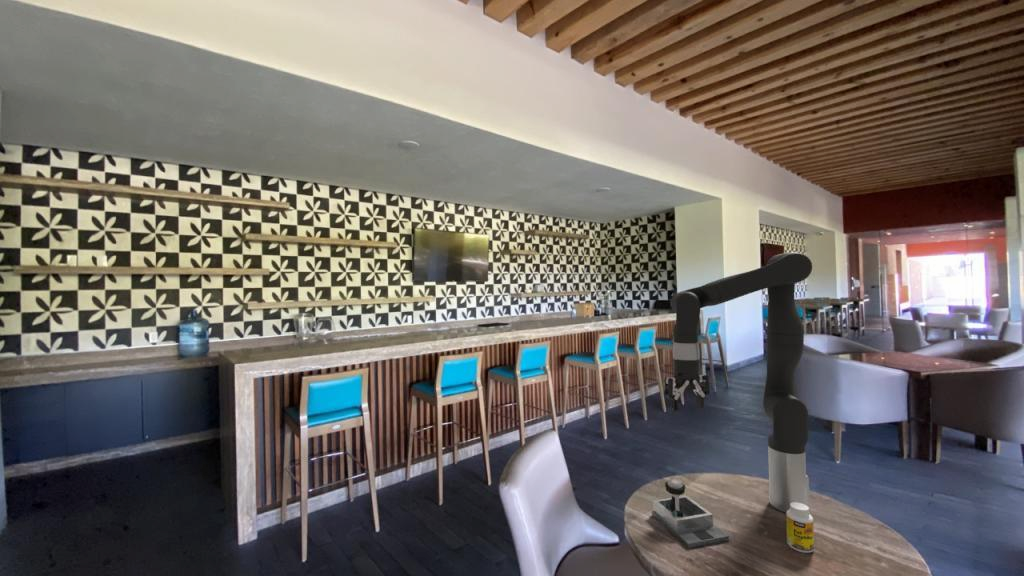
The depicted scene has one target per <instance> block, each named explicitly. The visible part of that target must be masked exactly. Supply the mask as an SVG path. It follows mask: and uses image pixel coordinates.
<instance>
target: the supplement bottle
mask: <svg viewBox="0 0 1024 576" xmlns="http://www.w3.org/2000/svg"><path fill="white" fill-rule="evenodd" d="M785 513H786V519H785V520H786V543H787V544H788V546H789V547H790V548H791V549H793V550H795V551H798V552H800V553H804V554H805V553H806V554H808V553H812V552H814V550H815V540H814V539H815V537H814V535H815V534H814V529H815V528H814V517H813V516H812V515H811V512H810V509H809V507H808V506H806V505H804V504H801V503H797V502H792V503H790V509H789V510H788V511H787V512H785Z"/></svg>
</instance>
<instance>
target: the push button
mask: <svg viewBox="0 0 1024 576" xmlns="http://www.w3.org/2000/svg"><path fill="white" fill-rule="evenodd" d="M664 487H665V491H666V492H667V493H669V495H671V498H672V499H671V503H670V512H671V513H672V514H674V515H675V516H676V517H677V518H683V512H682V511H681V509H682V508H681V504H680V502H679V496H683V495H684V494H685V490H686V485H685V484H683V482H682V481H681V480H679V479H677V478H670V479H668V480H667V481H666V482H665V483H664Z"/></svg>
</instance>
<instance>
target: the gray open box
mask: <svg viewBox="0 0 1024 576" xmlns="http://www.w3.org/2000/svg"><path fill="white" fill-rule="evenodd" d="M671 499H672V497H667V498H659V499H655V500H652V505H653V508H652V510H651V516H652V517H653V518H654V519H655V520H657V521H658V522H659V524H660V525H662V526H663V527H664V528H665V529H666V530H668V531H669V533H670V534H672V535H673V537H675V538H676V539H677V540H679V542H681V543H682V544H683V545H684V546H685V548H687V549H690V550H691V549H694V548H699V547H704V546H708V545H714V544H719V543H723V542H729V540H730V536H729V535H728V534H727V533H725V532H724V531H723V530H722V529H720V528H719V527H717V526H716V525H715V524H714V514H713V513H711V512H710V511H709V510H707V509H706V508H705V507H703V506H701V504H699V503H697V502H696V501H695V500H693V499H692V498H691V497H690V496H688V495H684V494H683V495H680V496H679V502H680V504H681V508H682V509H681V511H682V512H683V518H677V517H676V516H675V515H674V514H672V513H671V512H670V503H671Z"/></svg>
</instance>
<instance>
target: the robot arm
mask: <svg viewBox="0 0 1024 576" xmlns="http://www.w3.org/2000/svg"><path fill="white" fill-rule="evenodd" d="M812 271H813V263H812V261H811V259H810V258H809V257H808V256H807V255H806V254H804V253H802V252H796V251H791V252H784V253H778V254H775V255H773V256H772V257H770V258H769V259H768V261H767V263H766V265H764V266H761V267H759V268H755V269H752V270H749V271H745V272H742V273H738V274H732V275H730V276H725V277H723V278H720V279H716V280H714V281H711V282H708V283H705V284H703V285H701V286H697V287H693V288H689V289H686V290H682V291H678V292H677V293H675V294H673V296H672V297H671V299H670V301H669V303H670V308H671V310H672V311H673V312H675V315H676V316H675V323H674V325H673V331H672V332H673V333H672V334H673V336H672V337H673V339H672V340H673V341H672V342H673V343H672V344H673V345H672V346H673V347H672V366H673V367H672V371H673V374H674V376H673V377H669V376H665V377H664V386H663V387H664V388H663V389H664V390H663V391H664V394H663V396H664V397H666V398H668V399H670V409H671V410H672V412H675V413H679V411H680V410H679V408H680V407H679V405H680V404H679V398H680V395H682V394H683V393H684V392H688V391H691V392H692V391H693V392H694V394H695V395H696V396H695V405H696V406H695V407H696V409H697V410H703V409H704V407H705V396H708V395H710V393H711V391H710V380H709V379H710V378H709V377H710V376H709V375H707V374H705V373H700V372H701V359H700V358H701V357H700V354H701V353H700V346H699V323H700V316H701V309H703V308H705V307H713V306H718V305H721V304H724V303H726V302H729V301H732V300H735V299H738V298H740V297H743V296H747V295H749V294H752V293H755V292H759V291H761V290H765V289H766V290H767V326H766V327H767V328H766V376H765V377H766V378H765V386H764V387H765V388H764V392H763V399H762V406H763V410H764V412H765V414H766V416H768V418H769V419H771V420H772V433H771V434H769V436H768V437H767V448H768V449H767V452H768V453H767V455H768V456H767V457H768V484H769V485H768V487H769V489H768V490H769V492H768V493H769V504H770V506H772V507H773V508H774V509H776V510H779V511H781V512H783V513H786V512H787V511H788V510H789V509H790V503H792V502H797V503H801V504H804V505H806V506H808V507H809V510H810V505H811V503H810V478H809V476H808V475H807V465H806V463H807V462H806V459H807V458H806V456H807V455H806V446H807V444H808V443H809V442H808V441H809V424H810V419H809V418H810V417H809V411H808V408H807V405H806V404H805V403H804V401H802V400H801V399H799V398H797V397H795V396H794V395H795V394H794V377H795V372H796V370H797V367H798V365H799V363H800V361H801V358H802V356H803V352H804V346H805V345H804V342H805V338H804V337H805V334H804V333H805V332H804V331H805V330H804V325H803V322H802V318H801V316H800V314H799V311H798V308H797V305H796V300H795V288H796V284H797V283H801V282H803V281H805V280H806V279H807V278H808V277H810V275H811V274H812ZM699 384H700V385H699Z"/></svg>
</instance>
